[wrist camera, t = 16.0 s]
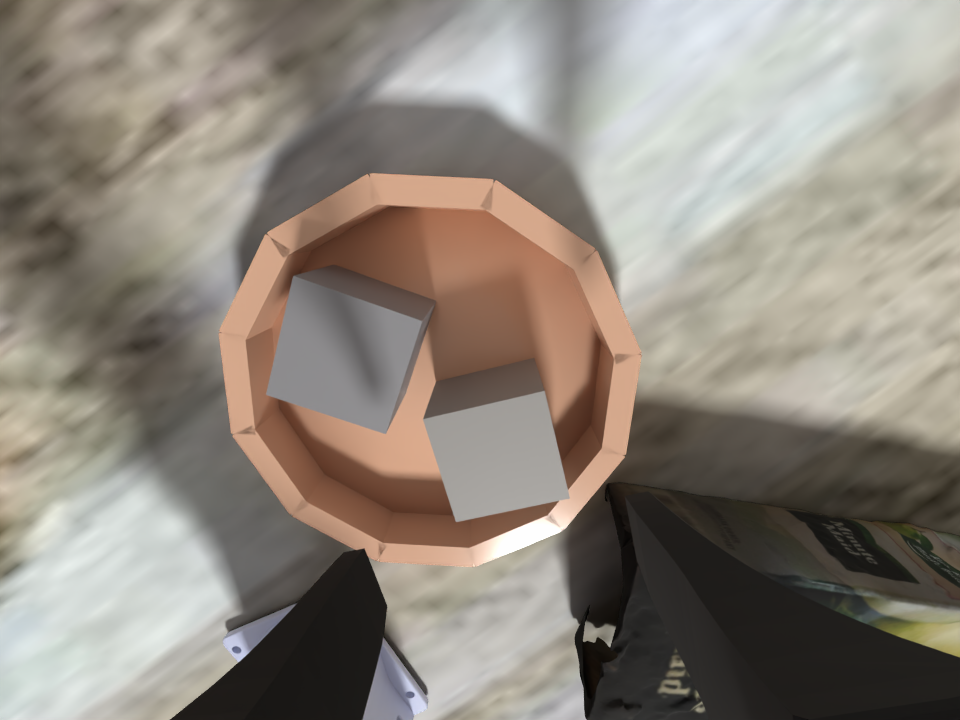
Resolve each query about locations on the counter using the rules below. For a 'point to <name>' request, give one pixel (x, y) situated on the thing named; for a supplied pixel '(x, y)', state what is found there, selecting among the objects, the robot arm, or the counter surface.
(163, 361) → the counter surface
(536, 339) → the bowl
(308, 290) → the grey cube
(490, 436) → the grey cube
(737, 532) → the juice carton
